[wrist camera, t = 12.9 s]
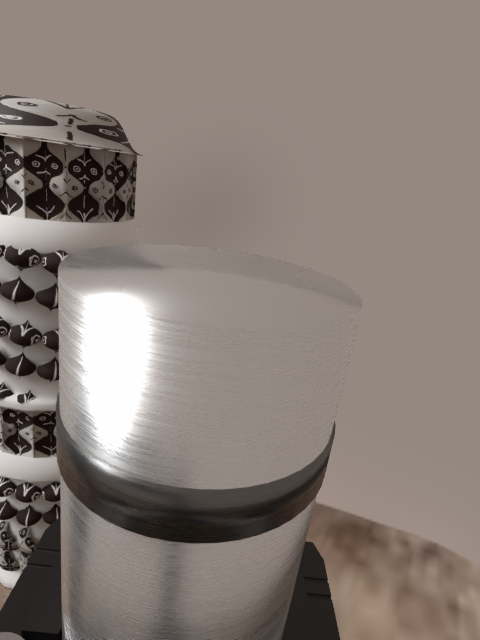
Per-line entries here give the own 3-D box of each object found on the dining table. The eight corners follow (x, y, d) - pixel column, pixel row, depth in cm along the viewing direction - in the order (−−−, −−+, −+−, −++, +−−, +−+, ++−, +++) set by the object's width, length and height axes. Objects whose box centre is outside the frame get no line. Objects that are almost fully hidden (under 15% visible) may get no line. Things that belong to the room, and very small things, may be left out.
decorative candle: (-61, 598, 22) (-138, 65, 14) (15, 477, 31) (-4, 104, 23) (114, 604, 23) (139, 108, 15) (141, 485, 32) (166, 129, 24)
